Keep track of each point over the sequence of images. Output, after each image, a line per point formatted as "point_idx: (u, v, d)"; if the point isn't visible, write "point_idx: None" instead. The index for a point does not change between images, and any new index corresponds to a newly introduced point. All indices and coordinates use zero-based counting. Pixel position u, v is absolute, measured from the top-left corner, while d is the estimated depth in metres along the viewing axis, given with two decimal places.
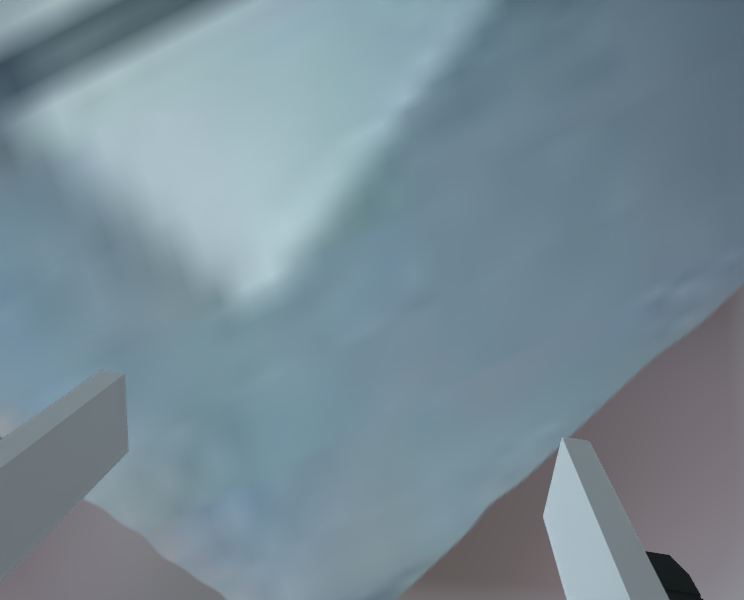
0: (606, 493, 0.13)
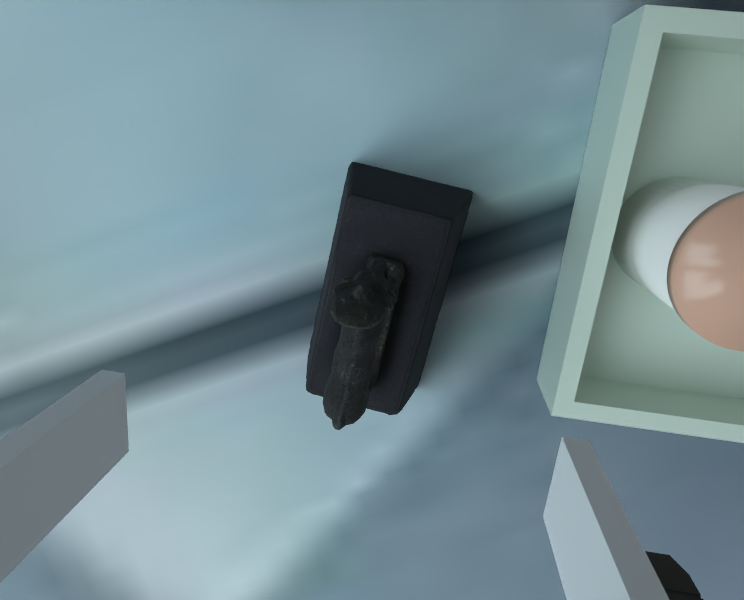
0: (606, 493, 0.13)
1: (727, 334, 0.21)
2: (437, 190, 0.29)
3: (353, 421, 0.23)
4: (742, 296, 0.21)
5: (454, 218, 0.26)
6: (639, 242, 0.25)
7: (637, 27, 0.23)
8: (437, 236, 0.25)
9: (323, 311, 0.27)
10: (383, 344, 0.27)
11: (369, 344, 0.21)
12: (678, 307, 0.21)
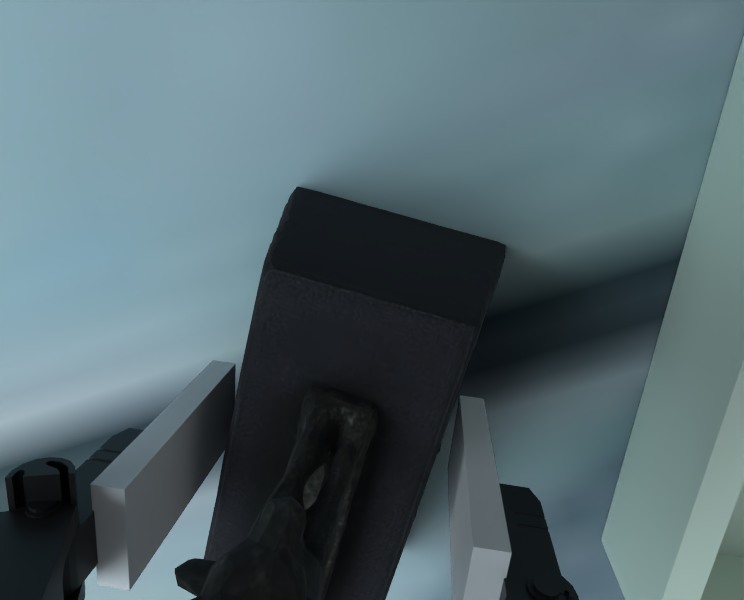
0: (482, 438, 0.14)
1: None
2: (445, 246, 0.16)
3: None
4: None
5: (481, 319, 0.13)
6: None
7: None
8: (446, 357, 0.12)
9: (221, 479, 0.14)
10: (333, 555, 0.14)
11: None
12: None
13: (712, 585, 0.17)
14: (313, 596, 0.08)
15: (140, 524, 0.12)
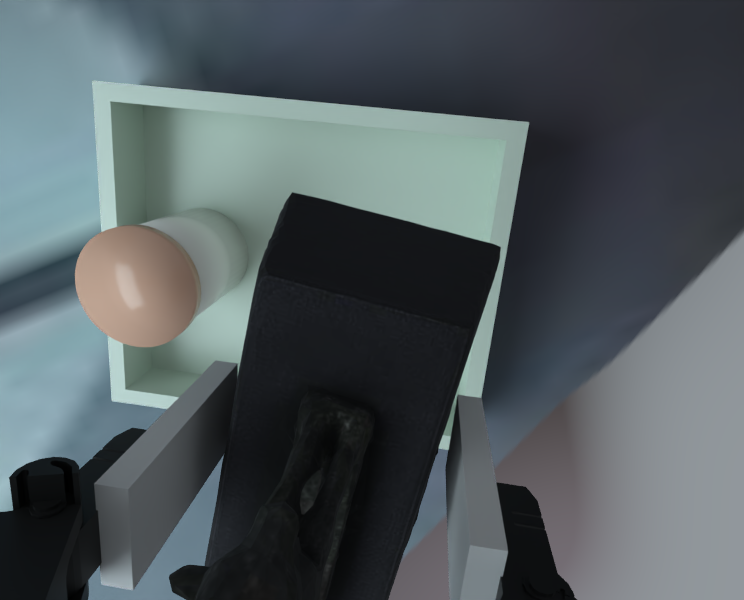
0: (479, 437, 0.14)
1: (125, 334, 0.28)
2: (440, 249, 0.16)
3: None
4: (126, 305, 0.28)
5: (475, 321, 0.13)
6: None
7: (96, 97, 0.30)
8: (441, 360, 0.12)
9: (220, 485, 0.14)
10: (333, 559, 0.14)
11: None
12: (88, 314, 0.28)
13: (161, 380, 0.37)
14: (309, 599, 0.08)
15: (143, 524, 0.12)
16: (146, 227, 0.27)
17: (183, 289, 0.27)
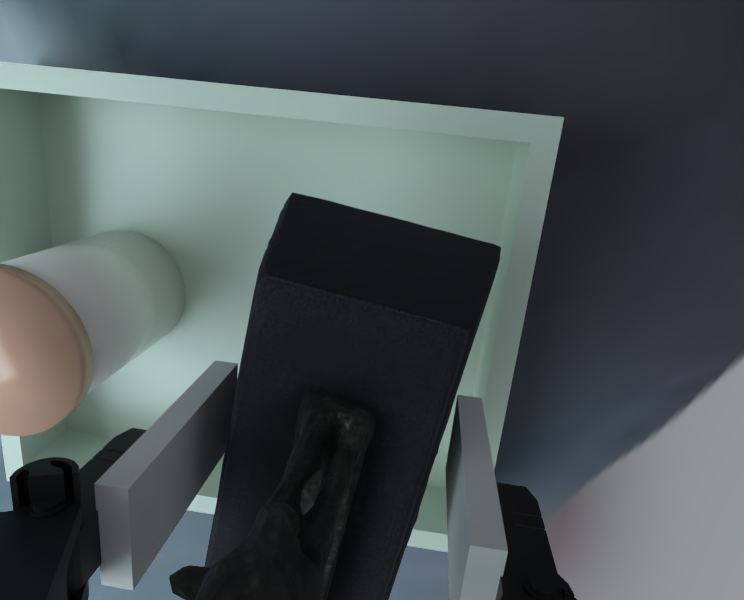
0: (479, 437, 0.14)
1: None
2: (440, 249, 0.16)
3: None
4: None
5: (476, 321, 0.13)
6: None
7: None
8: (441, 360, 0.12)
9: (221, 486, 0.14)
10: (333, 560, 0.14)
11: None
12: None
13: (76, 450, 0.29)
14: None
15: (143, 524, 0.12)
16: (7, 268, 0.18)
17: (63, 358, 0.19)
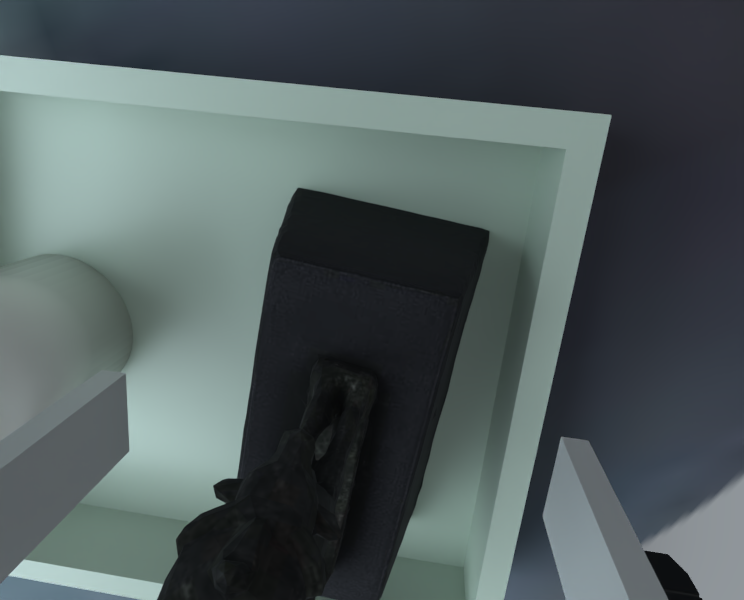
0: (605, 492, 0.13)
1: None
2: (433, 234, 0.18)
3: None
4: None
5: (464, 292, 0.14)
6: None
7: None
8: (434, 327, 0.14)
9: (242, 448, 0.16)
10: (344, 510, 0.15)
11: None
12: None
13: None
14: None
15: None
16: None
17: None
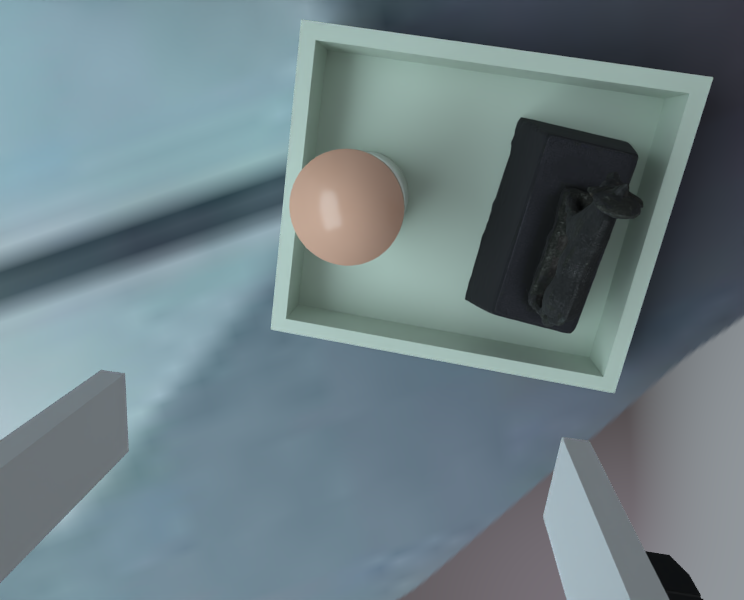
0: (606, 493, 0.13)
1: (329, 252, 0.30)
2: (605, 138, 0.33)
3: (574, 317, 0.27)
4: (334, 224, 0.30)
5: None
6: None
7: (300, 35, 0.32)
8: (625, 170, 0.30)
9: (515, 239, 0.32)
10: None
11: (604, 245, 0.25)
12: (296, 231, 0.30)
13: (313, 314, 0.39)
14: None
15: None
16: (363, 151, 0.29)
17: (393, 211, 0.29)
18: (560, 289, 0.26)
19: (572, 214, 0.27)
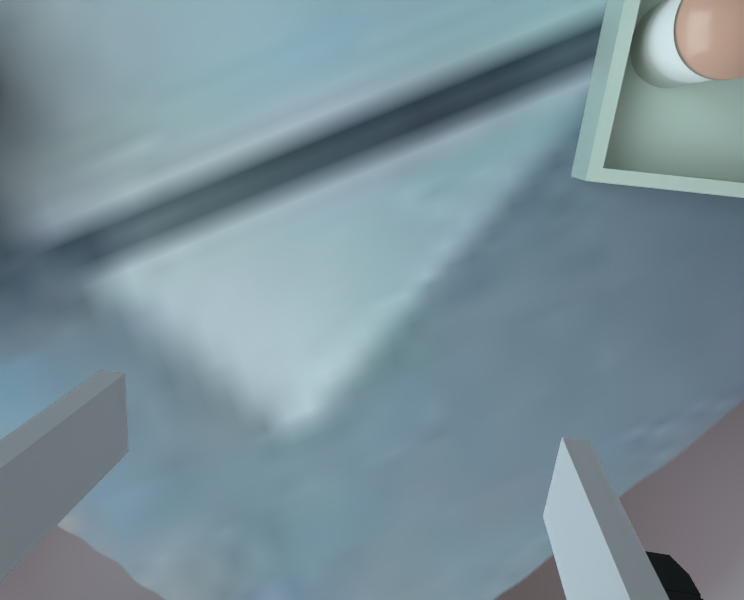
0: (606, 493, 0.13)
1: (715, 66, 0.31)
2: None
3: None
4: (725, 36, 0.30)
5: None
6: (652, 30, 0.35)
7: None
8: None
9: None
10: None
11: None
12: (681, 47, 0.31)
13: None
14: None
15: None
16: None
17: None
18: None
19: None
